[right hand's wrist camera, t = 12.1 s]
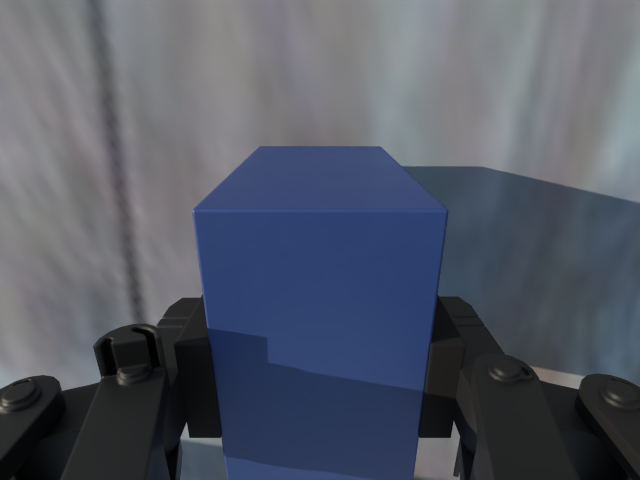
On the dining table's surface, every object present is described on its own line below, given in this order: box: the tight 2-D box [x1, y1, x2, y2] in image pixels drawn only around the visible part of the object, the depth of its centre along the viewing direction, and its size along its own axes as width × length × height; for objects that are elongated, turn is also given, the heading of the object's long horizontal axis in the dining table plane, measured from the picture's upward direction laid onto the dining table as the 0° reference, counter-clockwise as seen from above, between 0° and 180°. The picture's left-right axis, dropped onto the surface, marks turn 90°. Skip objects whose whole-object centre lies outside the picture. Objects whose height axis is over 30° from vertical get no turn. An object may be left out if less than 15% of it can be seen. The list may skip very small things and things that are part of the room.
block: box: [192, 146, 448, 480], centre depth 13 cm, size 9×5×8 cm, turn 0°
